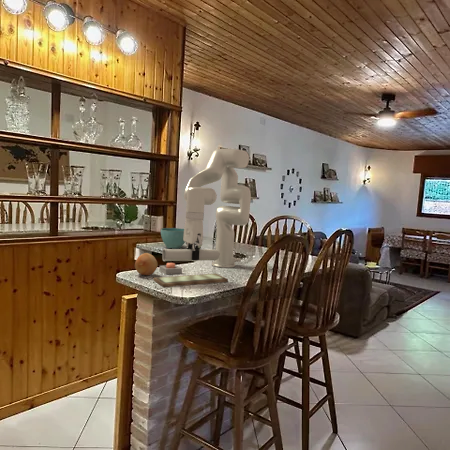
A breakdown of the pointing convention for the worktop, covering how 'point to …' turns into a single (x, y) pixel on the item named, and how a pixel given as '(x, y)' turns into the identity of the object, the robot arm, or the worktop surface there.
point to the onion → (146, 264)
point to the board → (189, 280)
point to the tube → (189, 254)
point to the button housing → (170, 270)
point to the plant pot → (172, 237)
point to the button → (170, 265)
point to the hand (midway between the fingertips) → (192, 258)
